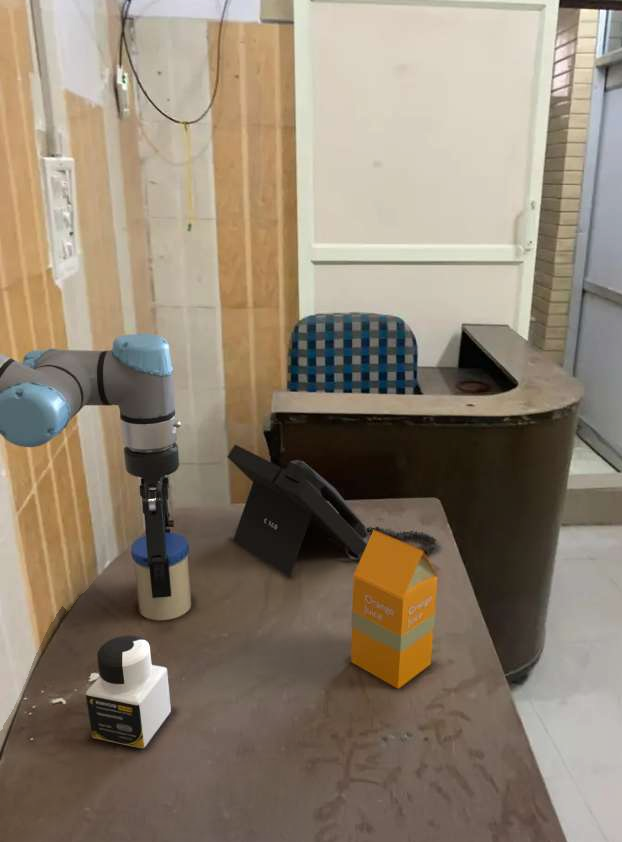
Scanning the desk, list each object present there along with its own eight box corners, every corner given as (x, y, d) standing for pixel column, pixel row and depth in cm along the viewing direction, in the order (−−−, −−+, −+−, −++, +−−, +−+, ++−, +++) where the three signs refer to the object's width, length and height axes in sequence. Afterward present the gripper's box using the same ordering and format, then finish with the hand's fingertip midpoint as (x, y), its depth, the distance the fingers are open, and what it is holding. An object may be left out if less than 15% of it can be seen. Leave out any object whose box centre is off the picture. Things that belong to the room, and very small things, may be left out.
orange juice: (397, 689, 104) (405, 561, 95) (349, 662, 109) (353, 538, 101) (432, 663, 109) (441, 540, 101) (384, 638, 114) (390, 519, 106)
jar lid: (163, 535, 122) (162, 527, 121) (200, 551, 117) (199, 542, 117) (120, 555, 115) (119, 547, 115) (158, 573, 111) (157, 564, 110)
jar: (137, 622, 116) (130, 564, 112) (140, 594, 123) (134, 539, 119) (191, 618, 117) (186, 560, 113) (191, 590, 125) (187, 535, 120)
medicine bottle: (90, 738, 93) (78, 658, 88) (122, 701, 99) (112, 624, 95) (143, 750, 92) (134, 669, 87) (172, 711, 98) (164, 634, 93)
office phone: (445, 549, 141) (453, 447, 132) (325, 601, 123) (326, 488, 115) (343, 497, 160) (344, 405, 152) (227, 536, 142) (222, 434, 134)
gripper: (175, 471, 101) (187, 616, 110) (179, 419, 119) (188, 546, 128) (116, 474, 99) (132, 620, 108) (129, 421, 118) (142, 549, 127)
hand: (163, 580), depth 118 cm, fingers closed on jar lid, 8 cm apart
